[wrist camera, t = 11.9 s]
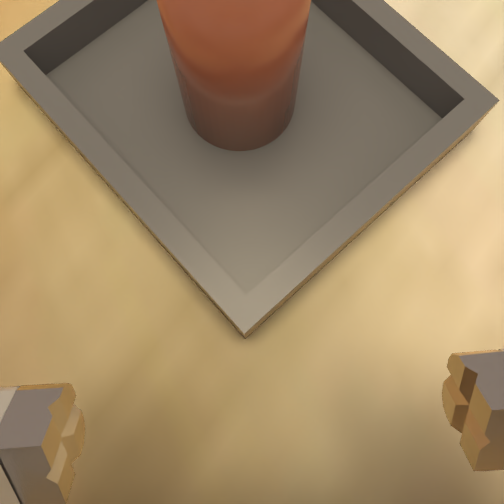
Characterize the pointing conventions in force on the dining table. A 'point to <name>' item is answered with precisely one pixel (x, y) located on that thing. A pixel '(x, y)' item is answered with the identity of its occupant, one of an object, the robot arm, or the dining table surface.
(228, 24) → the shaker
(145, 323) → the dining table surface
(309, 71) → the tray
